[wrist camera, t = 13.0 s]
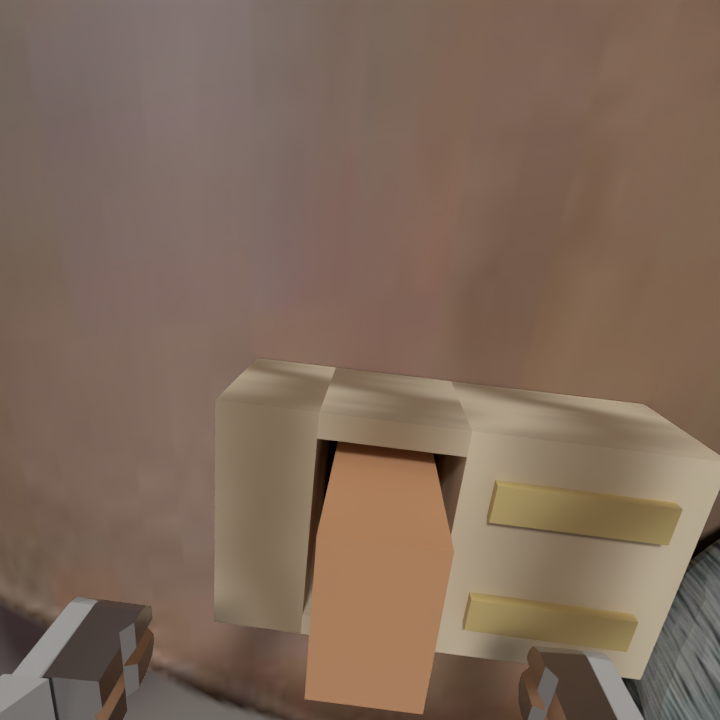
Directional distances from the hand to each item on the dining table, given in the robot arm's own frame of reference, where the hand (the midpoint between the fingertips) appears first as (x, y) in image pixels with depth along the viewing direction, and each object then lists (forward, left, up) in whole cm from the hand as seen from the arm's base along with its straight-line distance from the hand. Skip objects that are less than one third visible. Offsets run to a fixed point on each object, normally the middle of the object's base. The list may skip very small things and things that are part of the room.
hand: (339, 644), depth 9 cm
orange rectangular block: (+1, 0, -8) cm, 8 cm away
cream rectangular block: (+3, 0, -8) cm, 8 cm away
